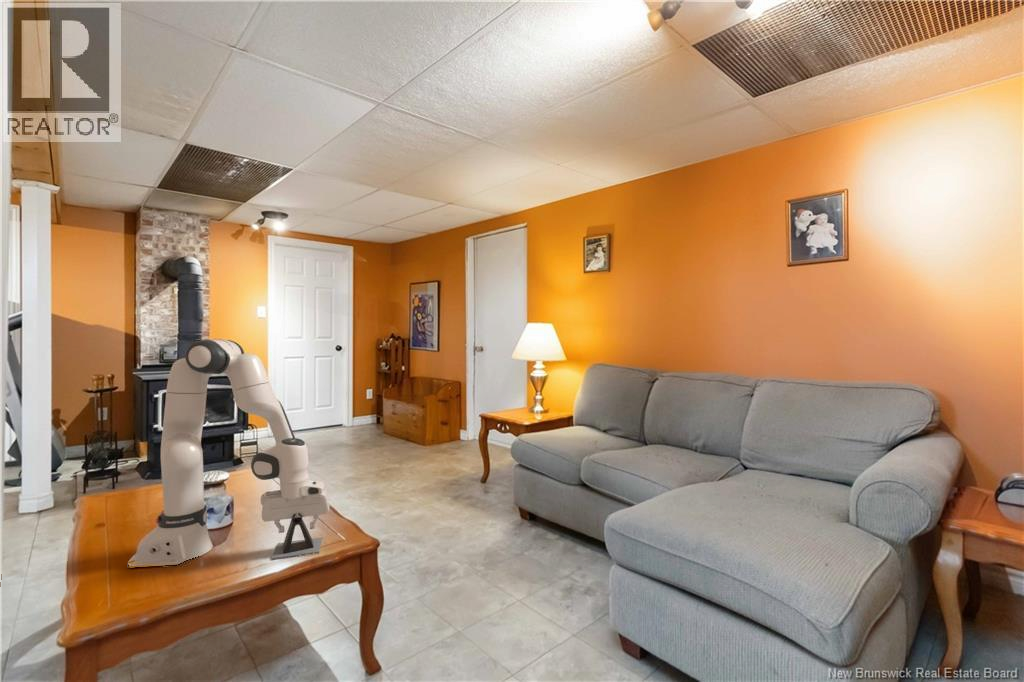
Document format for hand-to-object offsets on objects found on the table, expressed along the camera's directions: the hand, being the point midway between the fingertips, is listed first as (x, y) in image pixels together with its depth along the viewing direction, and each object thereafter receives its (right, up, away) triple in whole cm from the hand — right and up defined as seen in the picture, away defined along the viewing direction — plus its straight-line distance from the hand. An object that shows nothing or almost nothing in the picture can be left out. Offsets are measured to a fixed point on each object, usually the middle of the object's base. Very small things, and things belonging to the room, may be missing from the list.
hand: (297, 530), depth 160 cm
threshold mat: (0, -6, 0) cm, 6 cm away
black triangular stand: (0, -6, 0) cm, 6 cm away
